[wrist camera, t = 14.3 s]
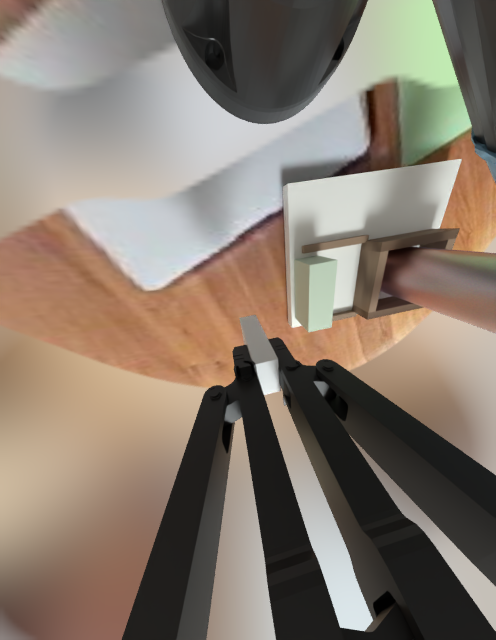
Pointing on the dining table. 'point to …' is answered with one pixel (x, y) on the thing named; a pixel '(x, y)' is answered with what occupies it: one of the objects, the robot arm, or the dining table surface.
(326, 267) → the block
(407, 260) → the beverage can
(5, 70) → the dining table surface
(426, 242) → the socket
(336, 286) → the board
